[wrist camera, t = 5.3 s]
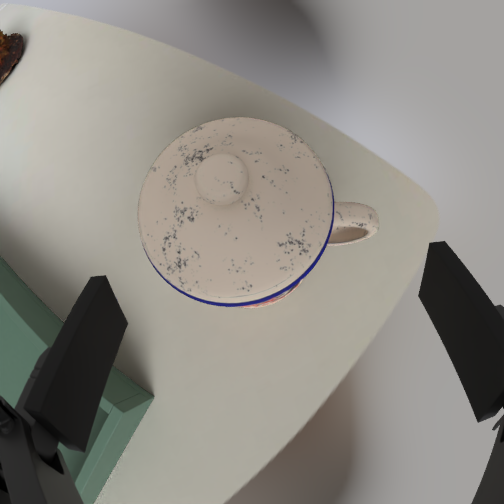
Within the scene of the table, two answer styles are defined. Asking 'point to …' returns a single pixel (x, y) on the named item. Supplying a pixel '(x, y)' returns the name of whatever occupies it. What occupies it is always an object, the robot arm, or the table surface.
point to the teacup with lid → (242, 213)
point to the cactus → (9, 52)
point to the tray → (22, 363)
